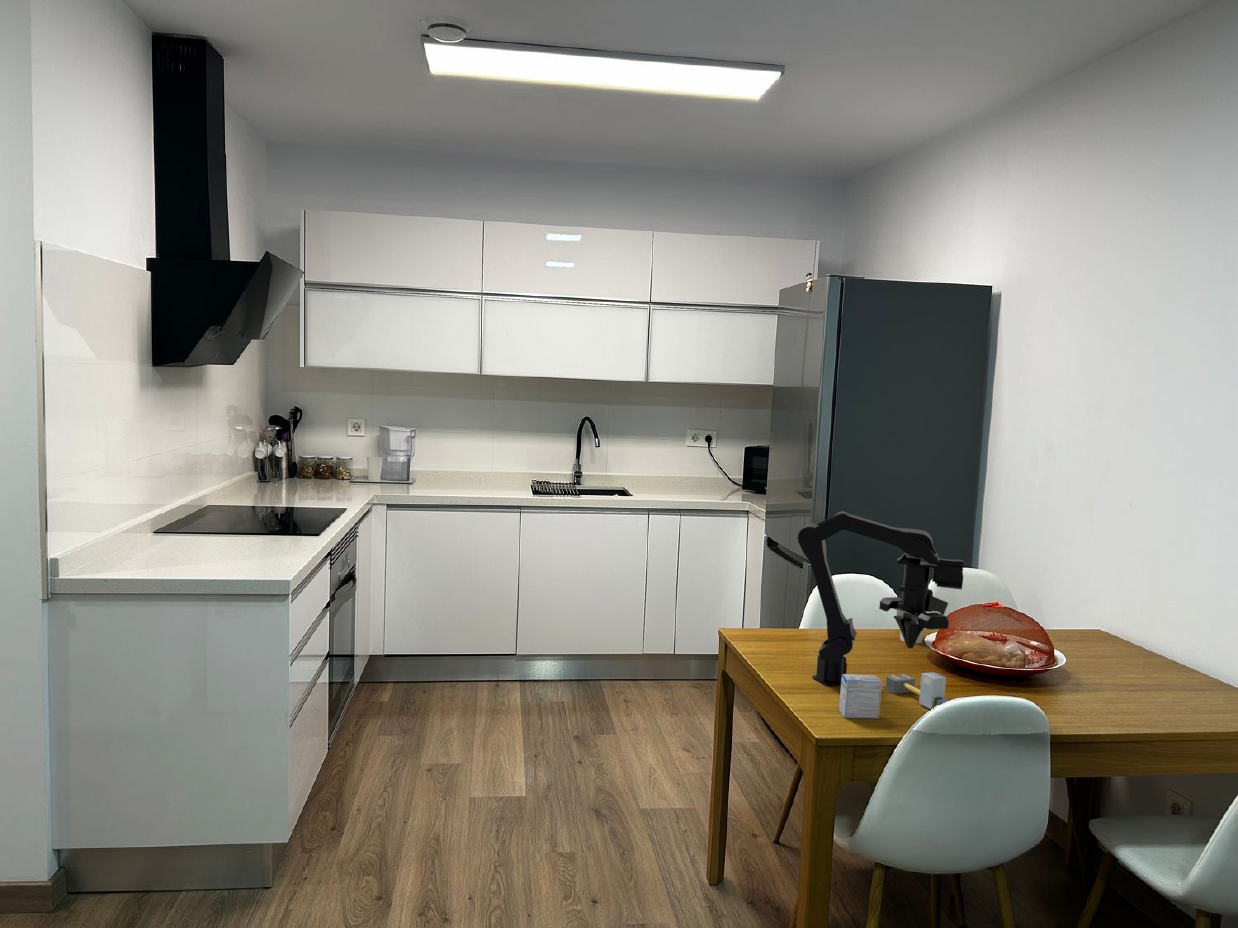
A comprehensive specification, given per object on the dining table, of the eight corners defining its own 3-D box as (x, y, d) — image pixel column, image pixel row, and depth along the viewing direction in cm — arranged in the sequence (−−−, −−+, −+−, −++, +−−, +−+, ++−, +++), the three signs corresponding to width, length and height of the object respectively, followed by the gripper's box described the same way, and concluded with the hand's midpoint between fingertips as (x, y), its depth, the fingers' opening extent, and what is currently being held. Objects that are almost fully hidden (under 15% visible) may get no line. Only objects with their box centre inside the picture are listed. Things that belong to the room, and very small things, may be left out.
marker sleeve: (930, 709, 209) (933, 678, 209) (918, 702, 213) (921, 673, 212) (943, 707, 211) (946, 677, 210) (931, 701, 215) (934, 672, 214)
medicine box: (873, 712, 207) (876, 674, 206) (879, 719, 203) (882, 681, 202) (838, 710, 207) (841, 673, 206) (843, 718, 202) (846, 679, 201)
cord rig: (940, 718, 205) (941, 703, 205) (885, 689, 222) (886, 675, 222) (961, 716, 207) (962, 700, 207) (905, 687, 225) (906, 673, 224)
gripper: (970, 592, 212) (964, 658, 214) (918, 574, 230) (912, 635, 231) (931, 594, 208) (925, 661, 210) (880, 575, 226) (875, 637, 227)
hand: (909, 647), depth 220 cm, fingers closed
